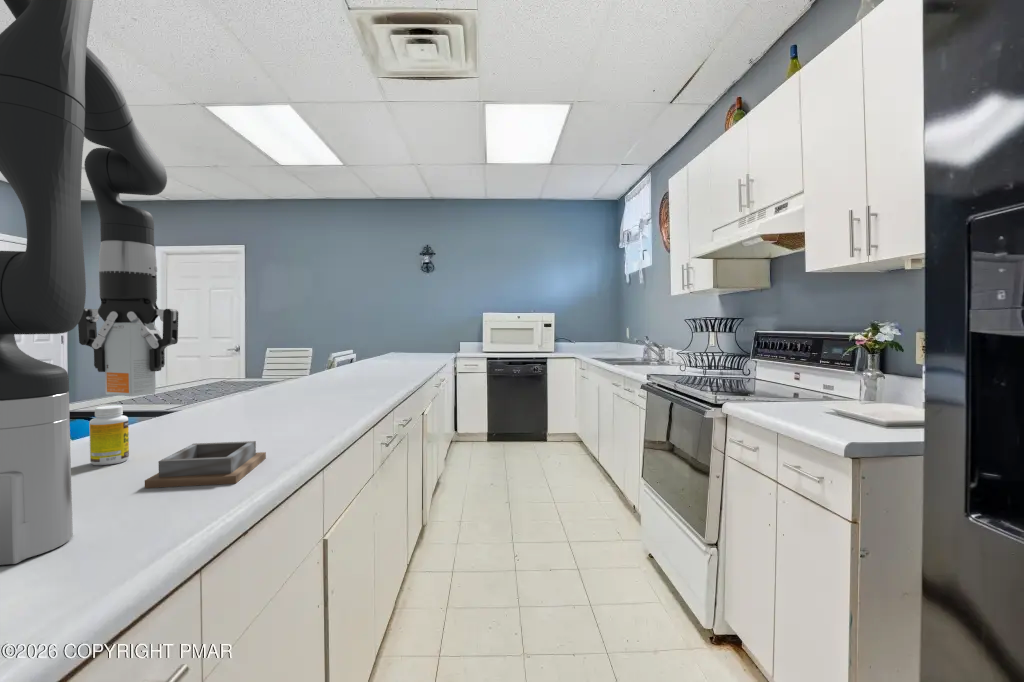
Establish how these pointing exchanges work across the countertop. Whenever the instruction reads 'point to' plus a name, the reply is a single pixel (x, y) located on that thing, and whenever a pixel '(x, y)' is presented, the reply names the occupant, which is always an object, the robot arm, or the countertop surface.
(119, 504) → the countertop surface
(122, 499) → the countertop surface
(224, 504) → the countertop surface
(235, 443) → the holder
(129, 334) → the skincare box
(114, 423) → the supplement bottle
